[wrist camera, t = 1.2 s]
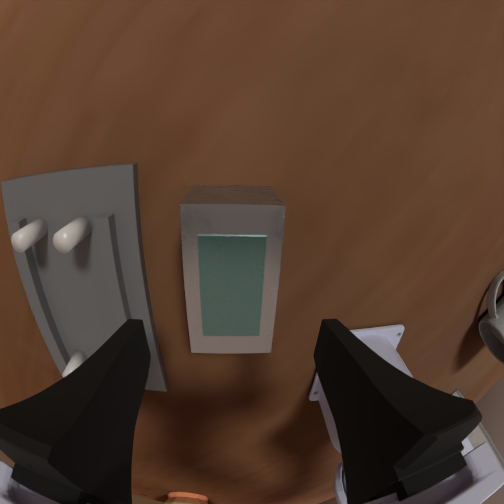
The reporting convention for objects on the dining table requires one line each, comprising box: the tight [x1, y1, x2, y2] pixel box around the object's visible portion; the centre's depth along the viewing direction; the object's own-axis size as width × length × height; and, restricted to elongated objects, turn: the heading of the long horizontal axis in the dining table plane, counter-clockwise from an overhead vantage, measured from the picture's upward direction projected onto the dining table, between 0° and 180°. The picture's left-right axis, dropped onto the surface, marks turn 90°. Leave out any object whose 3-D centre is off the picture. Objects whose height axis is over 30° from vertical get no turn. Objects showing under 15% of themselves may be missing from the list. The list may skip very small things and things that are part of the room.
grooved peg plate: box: [1, 163, 168, 392], centre depth 17 cm, size 20×12×4 cm, turn 177°
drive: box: [180, 185, 286, 353], centre depth 17 cm, size 9×5×5 cm, turn 178°
